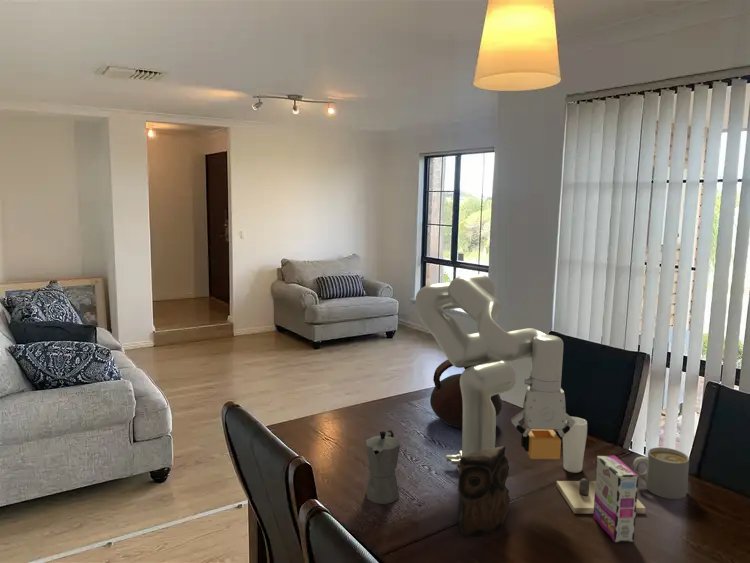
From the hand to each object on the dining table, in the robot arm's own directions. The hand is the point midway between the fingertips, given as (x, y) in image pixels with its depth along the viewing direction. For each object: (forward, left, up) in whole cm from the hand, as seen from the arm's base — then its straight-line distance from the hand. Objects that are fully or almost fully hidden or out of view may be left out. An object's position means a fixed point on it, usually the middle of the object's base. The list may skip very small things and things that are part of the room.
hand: (541, 448), depth 146 cm
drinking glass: (+15, +19, -15) cm, 28 cm away
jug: (-11, +55, -15) cm, 58 cm away
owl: (-18, -9, -15) cm, 25 cm away
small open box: (0, 0, -1) cm, 1 cm away
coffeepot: (-41, +5, -15) cm, 44 cm away
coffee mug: (+35, +8, -15) cm, 39 cm away
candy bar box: (+14, -12, -15) cm, 24 cm away
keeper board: (+16, +2, -15) cm, 22 cm away
